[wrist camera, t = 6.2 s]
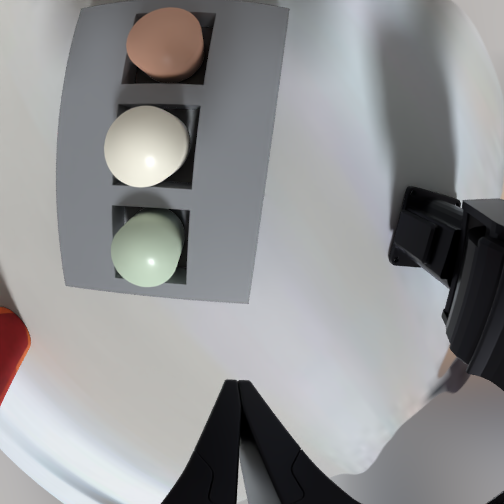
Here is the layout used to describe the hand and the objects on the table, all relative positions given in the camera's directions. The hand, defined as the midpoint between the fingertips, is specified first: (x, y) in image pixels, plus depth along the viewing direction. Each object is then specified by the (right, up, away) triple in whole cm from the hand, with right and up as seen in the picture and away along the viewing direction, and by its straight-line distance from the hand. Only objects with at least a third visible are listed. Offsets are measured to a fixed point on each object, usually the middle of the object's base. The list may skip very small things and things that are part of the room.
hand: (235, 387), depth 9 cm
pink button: (-4, +17, +5) cm, 18 cm away
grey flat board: (-5, +11, +8) cm, 15 cm away
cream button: (-5, +11, +6) cm, 14 cm away
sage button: (-6, +6, +9) cm, 13 cm away
